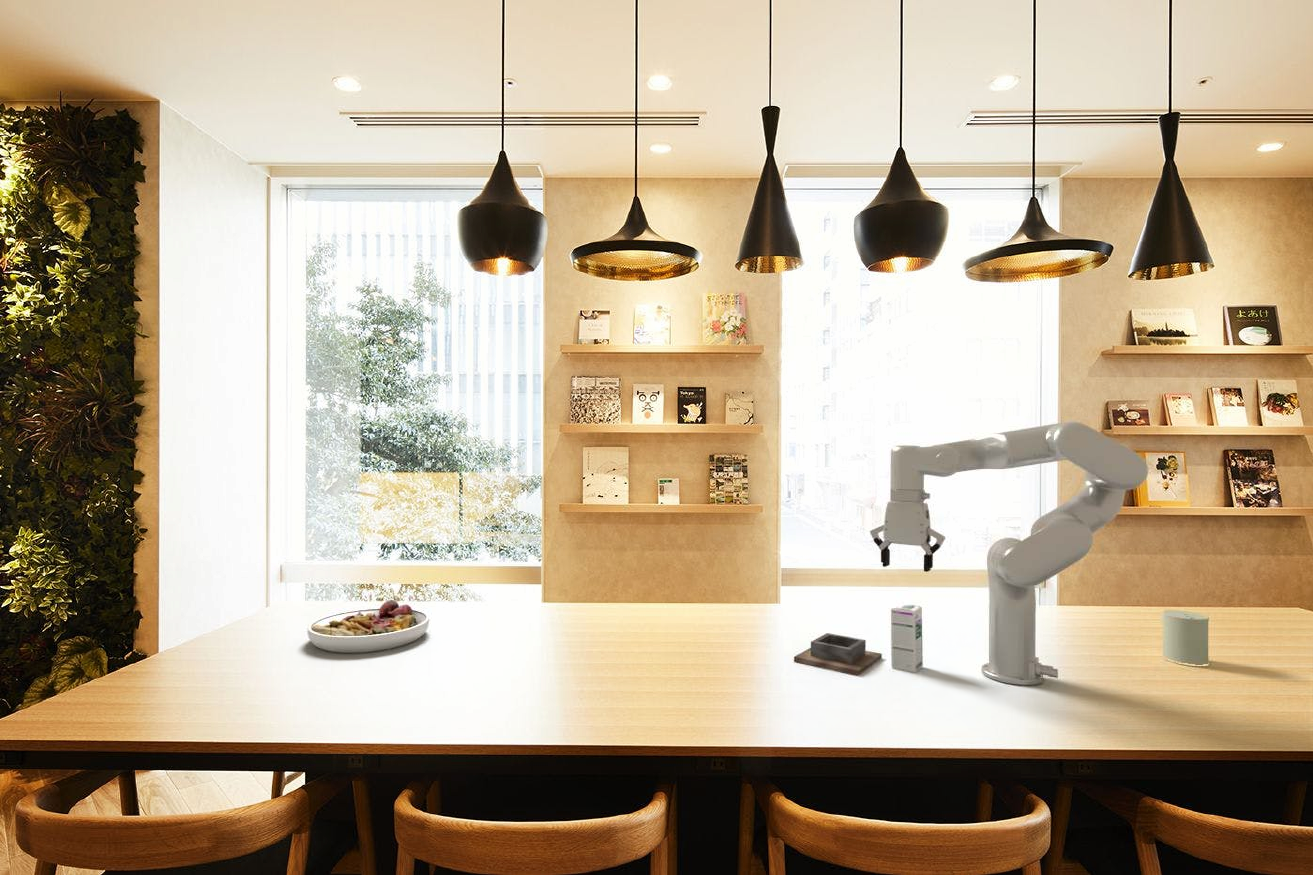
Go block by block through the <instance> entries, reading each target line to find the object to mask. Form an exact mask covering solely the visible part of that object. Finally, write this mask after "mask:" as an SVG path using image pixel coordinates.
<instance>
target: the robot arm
mask: <svg viewBox="0 0 1313 875" xmlns="http://www.w3.org/2000/svg"><path fill="white" fill-rule="evenodd" d="M1060 461H1061V462H1062V461H1069V462H1071V463H1072V464H1074V465H1076V466H1077V467H1078V468H1081V469H1082V470H1084V472H1085V473H1084V475H1085V480H1084V484H1083V486H1082V488H1081V490H1080V491H1079V492H1078V493H1077V494H1075V495H1073V497H1071V498H1070V499H1068V500H1067V501H1066V502H1064V503H1062V504H1061V505H1058V507H1056V508H1055V509H1052V510H1051V511H1049V512H1047V513H1045V514H1043V515H1041V516H1040V517H1039V518H1038V519H1036V520H1035V521H1034V523H1032V525H1031V528H1030V535H1029V536H1028V537H1026V538H1024V539H1022V540H1021V539H1017V538H1013V537H1005V538H1000V539H998V540H997V541H995V542H993V544H991V546H990V547H989V550H988V552H987V556H986V567H987V580H988V600H989V601H988V662H987V663H984V664H982V666H981V673H982V674H983V675H984V676H985V677H986V678H987V677H988V678H989V679H992V680H994V681H998V682H1000V683H1006V684H1012V685H1018V686H1019V685H1020V686H1033V685H1040V684H1041V683H1043V682H1044V676H1046V677H1049V678H1054V679H1058V678H1059V669H1058V668H1054V666H1052V665H1046V664H1042V662H1040V661H1039V660H1040V659H1039V658H1040V657H1038V656H1036V628H1037V625H1036V621H1037V620H1036V618H1037V616H1036V611H1037V610H1036V609H1037V606H1036V605H1037V604H1036V602H1037V599H1036V588H1035V587H1036V586H1038V585H1040V584H1042V583H1044V582H1046V581H1047V580H1050V579H1051V578H1053V577H1054V576H1056V575H1058V574H1060V573H1061V572H1063V571H1065V570H1066V569H1067V568H1070V567H1071V566H1073V565H1074V564H1076V563H1078V562H1079V561H1081V560H1082V559H1083V558H1084V557H1085V556H1086V555H1087V554H1088V553H1089V552H1090V551H1091V548H1092V546H1093V542H1094V541H1093V540H1094V538H1093V534H1094V533H1096V532H1098V530H1100V529H1102V528H1103V527H1105V526H1106V525H1107V524H1109V523H1110V522H1111V521H1112V520H1114V519H1115V518H1117V515H1118V514H1119V513H1120V511H1121V509H1122V507H1123V505H1124V501H1125V497H1126V496H1125V495H1126V491H1130V490H1134V489H1137V488H1139V487H1141V485H1143V483H1145V482H1146V480H1147V479H1148V474H1149V468H1148V465H1147V462H1146V460H1145V459H1144V458H1143V456H1141V455H1140V454H1138V453H1137V452H1136V451H1135V450H1132V449H1131V448H1129V447H1128V446H1127V447H1126V446H1125V445H1123V444H1122V443H1119V442H1118V441H1115V440H1114V439H1112V438H1111V437H1109V436H1107V435H1106V434H1103V433H1101V432H1099V431H1098V430H1096V429H1094V428H1092V427H1091V426H1089V425H1087V424H1084V423H1081V422H1077V421H1069V422H1057V423H1053V424H1052V423H1051V424H1046V425H1041V426H1033V427H1028V428H1021V429H1015V430H1009V431H1003V432H998V433H991V434H989V435H985V436H981V437H977V438H970V439H966V440H959V441H954V442H947V443H940V444H934V445H931V446H920V445H894V446H893V447H891V450H890V481H889V482H890V483H889V484H890V490H889V491H890V493H889V494H890V498H889V499H890V501H887V503H886V509H885V512H884V513H885V514H884V522H883V525H880V526H877V527H876V528H873V529H871V530H869V533H870V535H871V537H872V538H871V539H873V542H874V543H875V545H876V546H877V547H878V549H879V550H880V563H882V567H884V568H886V567H888V566H890V565H891V564H890V562H891V558H890V557H891V553H890V552H891V550H890V548H889V547H890V546H891V545H892V544H895V545H897V544H898V545H906V546H914V547H915V546H916V547H921V548H922V550H923V551H924V552H925V554H924V555H923V572H925V573H928V572H930V571H931V569H932V568H933V564H934V563H933V562H934V554H935V553H936V552H937V551H938V550H940V549H941V547H942V545H943V544H944V541H945V540H946V537H945V536H944V534H941V533H939V532H938V531H936V530H934V529H932V528H931V526H932V525H931V517H930V510H929V505H928V503H926V502H925V500H930V498H931V494H930V493H929V492H926V490H925V481H924V480H925V475H926V476H934V477H938V478H946V477H947V478H948V477H951V476H953V475H955V474H956V473H963V472H969V471H974V470H976V471H978V470H1006V469H1015V468H1021V467H1026V466H1027V467H1029V466H1036V465H1039V464H1041V465H1042V464H1048V463H1054V462H1060ZM881 532H883V540H882V538H880V537H879V536H880V535H879V534H880V533H881ZM932 537H933V538H934V539H936V541H935V543H934V544H933V545H932V544H930V542H931V541H932Z"/></svg>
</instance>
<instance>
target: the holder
mask: <svg viewBox="0 0 1313 875" xmlns="http://www.w3.org/2000/svg"><path fill="white" fill-rule="evenodd" d="M866 640H867V639H862V638H856V637H851V636H846V635H845V636H844V635H839V634H834V633H828V632H827V633H825V634H823V635H821V636H818V637H817V638H815V639H814V640H812V641H811V640H810V647H808V649H806V650H804V651H801V652H800V653H798V654H796V655H795V656H793V662H794V663H799V664H802V665H803V664H804V665H806V666H807V665H808V666H813V667H817V668H821V669H826V670H831V671H836V672H840V673H844V674H849V675H853V676H857V677H858V676H860V675H861V674H863V673H864V672H865V671H867V670H868V669H869V668H871V667H873V665H875V664H877V663H878V662H879V661H880V660H882V658H883V657H882V656H883V654H882V653H879V652H876V651H870V650H866V647H867V646H866V642H867V641H866Z"/></svg>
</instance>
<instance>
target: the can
mask: <svg viewBox="0 0 1313 875" xmlns="http://www.w3.org/2000/svg"><path fill="white" fill-rule="evenodd" d="M1161 613H1162V655H1163V656H1164V657H1165V658H1167V659H1170V660H1173V661H1177V662H1181V663H1188V664H1195V665H1203V664H1208V663H1209V664H1210V662H1209V660H1210V659H1209V620H1210V617H1209V616H1207V615H1205V614H1201V613H1197V612H1192V611H1185V610H1174V609H1173V610H1169V609H1167V610H1163V611H1162V612H1161Z"/></svg>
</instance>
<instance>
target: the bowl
mask: <svg viewBox="0 0 1313 875" xmlns="http://www.w3.org/2000/svg"><path fill="white" fill-rule="evenodd" d="M429 625H430V615H429V614H428V613H426V612H425V611H421V610H418V609H413V608H412V607H411V606H410V605H408V604H403V605H399V603H398V602H397V601H396V600H393V599H390V600H386V601H385V602H384V603H383V604H381V606H380V607H375V608H362V609H356V610H349V611H344V612H339V613H334V614H329V615H326V616H324V617H321V618H318V619H316V620H314V621H311V623H310V624H308V626H307V637H308V639H309V640H310V642H311V643H312V644H313V645H314V646H315V647H317V648H319V649H321V650H324V651H326V652H327V651H328V652H331V653H332V652H333V653H345V654H356V653H362V654H363V653H371V652H373V653H374V652H379V651H386V650H390V649H394V648H398V647H401V646H405V645H408V644H411V643H412V642H414V641H416V640H418V639H419V638H421V637H422V636H423V635H424V634H425V632H427V630H428V627H429Z"/></svg>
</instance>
